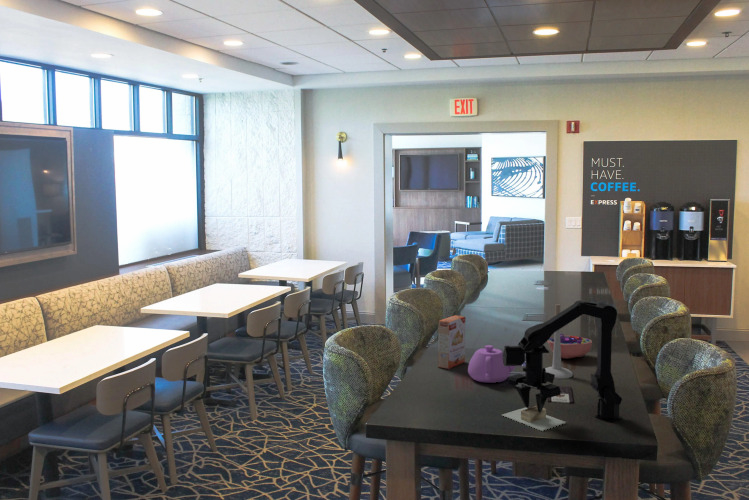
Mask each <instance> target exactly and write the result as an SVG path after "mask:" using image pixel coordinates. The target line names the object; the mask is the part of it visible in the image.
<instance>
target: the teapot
mask: <svg viewBox="0 0 749 500" xmlns="http://www.w3.org/2000/svg"><path fill="white" fill-rule="evenodd" d="M467 367H468V368H467V373H468V375H469V376H470V378H471V379H472V380H474V381H476V382H479V383H486V384H487V383H490V384H491V383H492V384H493V383H496V382H498V383H501V382H505V381H506V380H507V379H509V377H510V376H511V372H513V371H514V370H515V368H516V366H504V364H503V351H502V350H501V349H499V348H495V347H494V346H493V345H490V344H488V345H484V348H483V347H481V348H479V349H477V350H476V351H475V352H474V354H473V355H472V357H471V358H470V360H469V363H468V365H467ZM496 384H497V383H496Z"/></svg>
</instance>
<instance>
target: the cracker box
mask: <svg viewBox="0 0 749 500" xmlns="http://www.w3.org/2000/svg"><path fill="white" fill-rule="evenodd" d="M437 337H438V341H437V342H438V344H437V346H438V347H437V349H438V351H437V352H438V353H437V357H438V358H437V359H438V360H437V366H438V368H442V369H447V370H450V369H452V368H454V367H457V366H459V365H461V364H464V363H465V362H466V361H465V359H466V358H465V357H466V356H465V355H466V354H465V353H466V350H465V349H466V316H463V315H456V314H455V315H452V316H449V317H446V318H442V319H440V320H438V335H437Z"/></svg>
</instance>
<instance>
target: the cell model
mask: <svg viewBox="0 0 749 500" xmlns="http://www.w3.org/2000/svg"><path fill="white" fill-rule="evenodd" d="M554 337H555V336H551V337H550V339H549V340H548V341H547V342H546V343H548V346H549V348H550V350H551V351H552V352H553V351H554ZM592 343H593V341H592V339H589V338H586V337H581V336H578V335H576V336H575V335H567V334H566V335H565V334H564V333H563V332H562V333H561V332H560V346H561V359H564V360H565V359H566V360H568V359H574V358H581V357H584V356H585V355H587V354H588V353H589V352H590V351H591V349H592Z"/></svg>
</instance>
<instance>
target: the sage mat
mask: <svg viewBox="0 0 749 500" xmlns="http://www.w3.org/2000/svg"><path fill="white" fill-rule="evenodd" d="M528 408H529V407H528ZM528 408H526V407H525V406H524V407H523V408H519V409H515V410H513V411H509V412H505V413H503V414H501V417H503V416H504V417H503V418H505V417H507V418H506V419H508V418H509V419H508V420H510V419H512V420H511V421H513V420H514V421H513V422H516V421H517V422H516V423H518V422H519V424H521V423H523V424H525V425H524V426H526V425H527V426H526V427H529V426H530V427H529V428H531V427H532V429H534V428H535V429H534V430H536V429H537V430H536V431H539V430H540V431H539V432H541V431H542V432H545V431H548V430H551V429H554V428H557V427H560V426H562V424H563V425H566V424H567V422H566V421H564V420H562V419H559V418H555V417H553V416H550V415H548V414H546V418H542V419H539V420H536V421H533V422H527V421H524V420H522V419H521V411H522V410H525V409H528ZM523 424H522V425H523ZM559 425H560V426H559ZM556 426H557V427H556ZM553 427H554V428H553ZM550 428H551V429H550ZM547 429H548V430H547ZM544 430H545V431H544Z"/></svg>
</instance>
